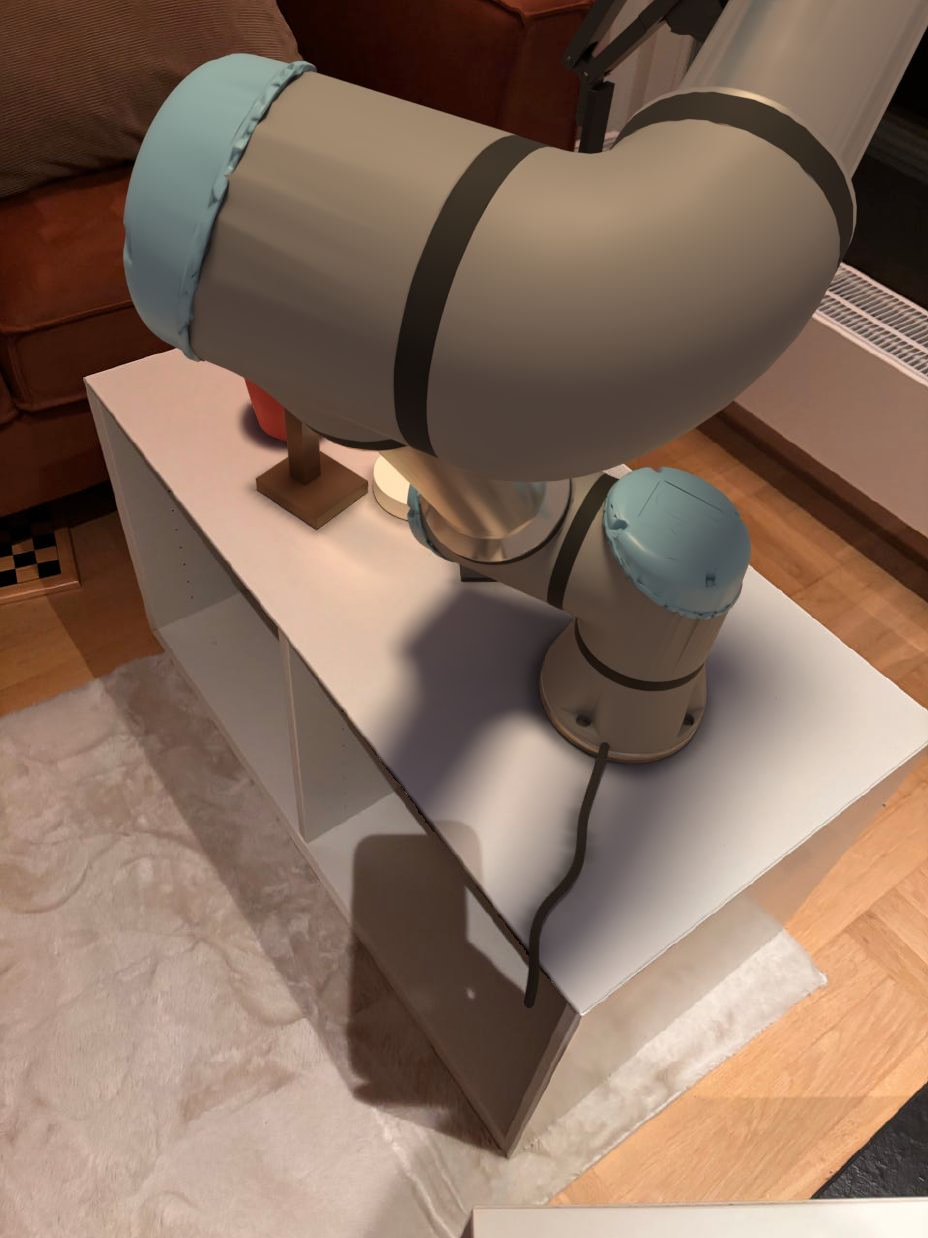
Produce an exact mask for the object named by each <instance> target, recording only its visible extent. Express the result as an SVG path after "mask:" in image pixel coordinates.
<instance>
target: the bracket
mask: <svg viewBox="0 0 928 1238" xmlns="http://www.w3.org/2000/svg"><path fill="white" fill-rule="evenodd" d="M409 485H410V483H409V482H408V481H407V480H406V479H405V478H404V477H403V476H402V475H401V474H400V473H399V472H398V471H397V470H396V469H395V468H394V467H393V466H392V465H391V464H390V463H389V462H388V461H387V460H386V459H385V458H384V457H383V456H382V455H380V456H379V457H378V458H377V459H376V461H375V463H374V465H373V485H372V486H373V488H372V489H373V493H374V497H375V499H376V502H377V503H378V504H379V505H380V506H381V507H382V508H383V509H384V510H385V511H386V512H387V513H389V514H391V515H393V516H395V517H397V518H399V519H402V520H405V521H408V519H407V513H408V511H409V509H410V507H409V506H408V505H407V497H408V490H409Z"/></svg>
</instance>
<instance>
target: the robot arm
mask: <svg viewBox="0 0 928 1238" xmlns="http://www.w3.org/2000/svg"><path fill="white" fill-rule="evenodd" d="M627 2H628V0H595V1H594V2H593V4H592V6H591V8H590V9H589V11H588V12H587V14H586V16H585V18H584V19H583V21H582V23H581V24H580V26H579V27H578V29H577V31H576V32H575V34H574V36H573V38H572V39H571V40H570V43H569V44H568V46H567V47H566V49H565V51H564V53H563V54H562V57H561V65H562V67H563V68H564V69H565V70H568V71H570V70H571V71H572V72H573V73H574V74H575V75H576V76H577V77H578V81H579V82H580V87H579V91H578V99H577V105H576V111H575V117H574V119H575V124H576V125H575V126H578V127H580V128H581V132H580V138H579V142H578V143H579V144H578V149H577V151H569V150H565V149H560V148H557V147H554V146H552V145H549V144H545V143H542V142H539V141H536V140H532V139H529V138H526V137H522V136H520V135H517V134H515V133H512V132H509V131H505V130H502V129H500V128H499V129H498V128H496V127H493V126H489V125H486V124H482V123H479V122H476V121H473V120H470V119H467V118H463V117H460V116H457V115H453V114H450V113H448V112H444V111H440V110H437V109H434V108H431V107H428V106H424V105H421V104H418V103H415V102H411V101H409V100H405V99H402V98H399V97H396V96H393V95H389V94H386V93H383V92H379V91H377V90H373V89H371V88H366V87H363V86H361V85H358V84H354V83H351V82H348V81H344V80H341V79H338V78H336V77H332V76H328V75H326V74H322V73H319V72H318V70H317V66H315V65H314V64H312V63H310V62H308V61H305V60H299V61H298V60H295V61H292V62H290V63H288V62H284V61H281V60H276V59H274V58H273V59H272V58H268V57H264V56H260V55H256V54H250V53H242V52H241V53H231V54H229V55H225V56H221V57H219V58H217V59H212V60H210V61H207V62H205V63H203V64H202V65H200V66H198V67H197V68H196V69H194V70H193V71H192V72H189V74H188V75H187V76H186V77H185V78H183V79H182V80H181V81H180V82H179V83H178V84H177V86H176V87H175V88H174V89H173V90H172V91H171V93H170V94H169V95H168V97H167V98H166V99H165V100H164V102H163V104H162V105H161V106H160V108H159V110H158V111H157V112H156V115H155V116H154V118H153V120H152V121H151V123H150V126H149V127H148V129H147V131H146V133H145V135H144V138H143V140H142V143H141V146H140V149H139V151H138V154H137V156H136V159H135V162H134V166H133V168H132V172H131V175H130V180H129V184H128V188H127V191H126V192H127V193H126V196H125V197H126V198H125V202H124V209H123V210H124V212H123V220H122V221H123V226H124V228H125V238H124V245H123V249H122V250H123V253H122V254H123V255H122V260H123V261H122V262H123V269H124V275H125V280H126V284H127V288H128V291H129V295H130V297H131V300H132V304H133V305H134V307H135V309H136V312H137V314H138V316H139V317H140V319H141V320H142V322H143V323H144V324H145V326H146V327H147V328H148V329H149V330H150V331H151V332H152V333H153V335H155V336H156V337H158V338H159V339H160V340H162V341H163V342H165V343H166V344H168V345H171V346H172V347H173V348H176V349H178V350H179V351H181V352H182V354H183V356H184V357H186V359H188V360H191V361H193V362H197V363H200V362H203V363H204V362H207V363H210V364H212V365H215V366H217V367H220V368H222V369H225V370H227V371H228V372H232V373H233V374H236V375H237V376H239V377H240V378H243V379H244V378H245V379H247V380H249V381H250V382H252V383H254V384H256V385H257V386H259V387H260V388H262V389H263V390H264V391H266V392H267V393H268V394H270V395H271V396H272V397H273V398H274V399H275V400H277V401H278V402H279V403H280V404H281V405H282V406H284V407H285V408H286V409H287V410H288V411H289V412H291V413H292V414H293V415H294V416H295V417H296V418H298V419H299V420H300V421H302V422H303V423H304V424H305V425H306V426H307V427H308V428H310V429H311V430H312V431H314V432H315V433H317V434H318V435H319V437H321V438H323V439H325V440H326V441H328V442H331V443H333V444H335V445H338V446H341V447H343V448H346V449H350V450H354V451H358V452H359V451H361V452H370V453H371V452H375V453H378V454H379V455H380V456H383V457H384V458H385V459H386V460H387V461H388V462H389V463H390V464H391V465H392V466H393V467H394V468H395V469H396V470H397V471H398V472H399V473H400V474H401V475H402V476H403V477H404V478H405V479H406V480H407V481H408V482H409V483H410V485H409V490H408V497H407V505H408V506H409V507H410V509H409V511H408V513H407V519H408V520H407V523H408V526H409V530H410V532H411V534H412V536H413V537H414V539H415V540H416V541H417V542H418V543H419V544H420V545H421V546H423V547H424V548H426V549H427V550H429V551H431V552H432V553H433V554H434V555H436V556H437V557H438V558H441V559H443V560H444V561H448V562H450V563H455V564H458V565H460V564H461V565H463V566H465V567H467V568H470V569H472V570H474V571H476V572H479V573H481V574H483V575H485V576H487V577H490V578H492V579H494V580H496V581H495V582H498V583H501V584H503V585H505V586H508V587H510V588H513V589H514V590H516V591H519V592H521V593H523V594H525V595H528V596H530V597H532V598H534V599H537V600H539V601H542V602H543V603H546V604H548V605H549V606H551V607H553V608H556V609H557V610H560V611H561V612H564V613H566V614H569V615H571V616H573V617H574V619H572V620H571V622H570V623H569V624H568V625H567V626H566V628H565V629H564V630H563V631H562V632H561V633H559V635H558V636H557V637H556V638H555V639H554V641H553V642H552V644H551V645H550V647H549V648H548V650H547V652H546V654H545V656H544V658H543V662H542V666H541V670H540V674H539V681H538V682H539V683H538V685H539V686H538V687H539V695H540V701H541V704H542V706H543V709H544V711H545V714H546V715H547V717H548V719H549V720H550V722H551V723H552V724H553V726H554V727H555V729H556V730H557V731H559V733H560V734H561V735H562V736H563V737H564V738H565V739H567V740H568V741H569V742H570V743H572V745H574V746H576V747H577V748H579V749H581V751H584V752H586V753H588V754H589V755H592V756H595V757H596V758H595V762H594V765H593V768H592V770H591V775H590V777H589V781H588V783H587V787H586V790H585V793H584V796H583V799H582V802H581V806H580V809H579V815H578V821H577V831H576V847H575V853H574V856H573V860H572V863H571V866H570V868H569V870H568V871H567V874H566V875H565V876H564V877H563V879H562V880H561V882H559V884H558V885H557V886H556V887H555V888H554V889H553V890H552V891H550V893H549V894H548V895H547V896H546V897H545V898H544V899H543V901H542V903H541V904H540V905H539V907H538V909H537V910H536V912H535V914H534V917H533V918H532V922H531V925H530V930H529V938H528V976H527V977H528V978H527V985H526V989H525V994H524V999H523V1005H524V1007H525V1008H527V1009H531V1008H533V1007H534V1006H535V1003H536V998H537V994H538V989H539V981H540V941H541V940H540V939H541V933H542V929H543V925H544V924H545V920H546V918H547V916H548V914H549V912H551V910H552V909H553V908H554V906H555V905H556V904H557V903H558V902H559V901H560V899H561V898H562V897H563V896H564V895H565V894H566V893H567V892H568V891H569V890H570V889H571V888H572V886H573V885H574V883H576V880H577V879H578V877H579V875H580V873H581V870H582V868H583V864H584V861H585V858H586V857H585V856H586V852H587V851H586V850H587V837H588V825H589V817H590V813H591V810H592V805H593V802H594V799H595V795H596V793H597V790H598V786H599V784H600V781H601V777H602V774H603V771H604V770H603V769H604V767H605V764H606V761H611V762H615V763H621V764H644V763H652V762H656V761H660V760H662V759H665V758H668V757H669V756H672V755H674V754H675V753H677V752H679V751H680V750H681V749H683V747H685V746H686V744H688V743H689V741H690V740H691V739H692V738H693V737H694V734H695V733H696V731H697V730H698V727H699V726H700V724H701V722H702V719H703V716H704V714H705V709H706V703H707V694H708V693H707V676H706V675H707V673H706V662H707V659H708V658H709V655H710V653H711V651H712V649H713V647H714V644H715V642H716V639H717V638H718V635H719V633H720V631H721V628H722V626H723V624H724V622H725V620H726V618H727V615H728V613H729V611H730V610H732V608H733V607H734V605H735V604H736V603H737V601H738V599H739V598H740V596H741V593H742V589H743V587H744V586H743V581H744V578H745V577H746V576H745V575H746V574H747V570H748V569H749V565H750V562H751V557H752V541H751V535H750V532H749V529H748V526H747V524H746V523H745V522H744V521H743V519H741V513H740V511H739V509H738V508H737V507H736V505H735V504H734V503H733V501H732V500H731V499H730V498H729V497H728V496H727V495H726V494H724V492H722V490H720V489H718V488H717V487H716V486H715V485H713V484H712V483H710V481H709V482H708V481H707V480H705V479H704V478H701V477H700V476H697V475H696V474H693V473H691V472H688V471H685V470H682V469H679V468H674V467H667V466H660V467H659V468H658V469H657V470H655V469H653V468H652V467H651V466H648V467H646V466H645V467H641V468H638V469H634V470H632V471H629V472H627V473H626V474H624V475H623V476H622V477H620V478H618V477H615V476H613V475H611V474H608V473H606V472H605V471H608V470H610V469H613V468H616V467H619V466H622V465H624V464H627V463H629V462H632V461H634V460H637V459H639V458H641V457H643V456H645V455H647V454H650V453H651V452H654V451H656V450H658V449H660V448H662V447H664V446H666V445H667V444H669V443H671V442H673V441H674V440H677V439H678V438H680V437H682V436H684V435H685V434H687V433H689V432H691V431H693V430H694V429H695V428H697V427H699V426H701V424H703V423H704V422H706V421H707V420H709V419H711V418H712V417H713V416H715V415H716V414H718V413H719V412H721V411H722V410H723V409H725V408H727V407H728V406H729V405H730V404H731V403H732V402H733V401H735V400H736V399H737V398H738V397H739V396H740V395H741V394H743V393H744V392H745V391H746V390H747V389H748V388H749V387H751V385H753V384H754V383H755V382H756V381H757V380H759V378H760V377H762V376H763V375H764V374H765V373H766V372H768V370H770V368H772V366H773V365H774V364H775V363H776V362H777V361H778V359H779V358H780V357H781V356H782V355H783V354H784V353H785V352H786V351H787V349H789V347H790V346H791V345H792V344H793V343H794V341H795V340H796V339H797V338H798V337H799V336H800V335H801V332H802V331H803V330H804V329H805V327H806V325H808V323H809V321H810V320H811V318H812V317H813V316H814V315H815V313H816V311H817V310H818V309H819V307H820V305H821V303H822V301H823V299H824V298H825V295H826V293H827V292H828V289H829V288H830V285H832V282H833V280H834V278H835V276H836V274H837V272H838V270H839V268H840V266H841V264H842V262H843V259H844V257H845V256H846V253H847V251H848V250H849V247H850V244H851V242H852V240H853V236H854V234H855V233H854V232H855V228H856V225H857V208H858V207H857V206H858V205H857V199H856V191H855V189H854V185H853V182H852V178H853V176H854V174H855V172H856V170H857V169H858V166H859V164H860V162H861V160H862V159H863V156H864V154H865V152H866V150H867V148H868V146H869V144H870V142H871V140H872V138H873V136H874V134H875V132H876V130H877V129H878V126H879V125H880V122H881V120H882V118H883V116H884V114H885V112H886V111H887V108H888V106H889V104H890V102H891V101H892V98H893V96H894V94H895V93H896V91H897V88H898V86H899V84H900V82H901V81H902V79H903V76H904V75H905V72H906V70H907V68H908V66H909V64H910V62H911V60H912V58H913V56H914V54H915V52H916V50H917V48H918V46H919V44H920V42H921V40H922V38H923V36H924V34H925V32H926V30H927V29H928V0H652V1H651V2H650V3H649V4H648V5H647V6H646V7H644V9H643V10H642V11H641V12H640V13H639V14H638V15H637V17H636V18H635V19H634V20H633V21H632V22H631V23H630V24H629V25H628V26H627V27H626V28H625V29H623V30H622V31H621V32H620V33H619V34H618V35H617V36H616V37H615V38H614V39H613V40H612V41H611V42H610V43H609V44H607V45H606V46H605V47H604V48H603V49H602V50H601V51H600V52H599V53H598V54H597V55H595V56H594V54H595V52H596V50H597V49H598V47H599V45H600V44H601V42H602V41H603V39H604V38H605V36H606V35H607V34H608V32H609V30H610V28H611V27H612V25H613V23H614V22H615V20H616V19H617V17H618V16H619V15H620V13H621V11H622V10H623V9H624V6H625V4H626V3H627ZM665 24H667V26H668V27H669V28H670V31H669V32H670V33H673V34H676V35H678V36H690V37H691V38H693V39H694V40H696V41H697V42H698V43H701V44H702V46H701V48H700V49H699V51H698V53H697V55H696V56H695V58H694V59H693V61H692V63H691V65H690V67H689V68H688V71H687V72H686V73H685V75H684V77H683V79H681V82H680V84H679V86H678V87H677V89H674V90H672V91H669V92H667V93H663V94H662V95H659V96H657V97H656V98H654V99H652V100H650V101H649V102H646V103H645V104H644V105H643V106H642V107H641V108H639V109H638V110H637V111H635V112H634V113H633V114H632V116H631V117H630V118H629V119H628V120H627V121H626V123H625V124H624V126H623V127H622V128H621V130H620V131H619V133H618V135H616V138H615V140H614V141H613V143H612V145H611V146H610V148H609V150H606V151H603V150H604V145H605V139H606V133H607V129H608V123H609V118H610V112H611V108H612V102H613V98H614V91H615V87H616V82H613V81H610V80H605V78H607V77H609V76H611V75H612V74H611V73H612V72H613V71H614V70H615V69H616V68H617V67H618V66H620V65H621V64H622V63H623V62H624V61H625V60H626V59H628V57H630V56H631V55H632V54H633V53H634V52H635V51H636V50H637V49H638V48H640V47H641V46H642V45H643V44H644V43H645V42H646V41H647V40H648V39H649V38H651V37H652V36H653V35H654V34H655V33H656V32H657V31H658V30H660V29H661V28H662V27H663V26H664V25H665Z"/></svg>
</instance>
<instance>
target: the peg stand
mask: <svg viewBox="0 0 928 1238" xmlns="http://www.w3.org/2000/svg"><path fill="white" fill-rule="evenodd" d="M284 413H285V425H286V437H287V441H286V447H287V457H285V458H284V459H282V460H281V461H279V462H278V463H277V464H275V465H274V466H272V467H270V468H268V469H267V470H266V471H264V472H262V473H261V474H260V475H258V476H257V477H256V478H255V487H256V490H257V491H259V492H260V493H262V494H263V495H265V496H266V497H268V498H269V499H270V500H272V501H273V502H275V503H277V504H278V505H280V506H281V507H283V508H284V509H285V510H287V511H289V512H290V513H292V514H293V515H295V516H296V517H297V518H299V519H300V520H301V521H304V522H305V523H307V524H308V525H310V526H311V527H313V528H314V529H315V530H319V529H320V528H321V527H323V526H324V525H325V524H326V523H328V522H329V521H330V520H332V519H333V518H335V517H336V516H337V515H339V514H340V513H342V512H343V511H344V510H345V509H347V508H348V507H350V506H351V505H352V504H353V503H355V502H356V501H357V500H359V499H361V498H362V497H363V496H365V494H367V493H368V492H369V480H368V479H366V478H364V477H363V476H361V475H359V474H358V473H357V472H355V471H353V470H352V469H350V468H348V467H347V466H345V465H343V464H342V463H340V462H339V461H337V460H336V459H334V458H333V457H331V456H330V455H327V453H324V452H323V451H321V446H320V436H319V435H318V434H317V433H315V432H314V431H312V430H311V429H310V428H308V427H307V426H306V425H305V424H304V423H303V422H302V421H300V420H299V419H298V418H296V417H295V416H294V415H293V414H292V413H291V412H289V411H288V410H287V409H286V408H285V407H284Z"/></svg>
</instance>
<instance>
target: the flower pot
mask: <svg viewBox="0 0 928 1238" xmlns="http://www.w3.org/2000/svg"><path fill="white" fill-rule="evenodd" d="M243 380H244V383H245V386H246V389H247V393H248V396H249V399H250V402H251V405H252V407H253V410H254V414H255V416H256V419H257V421H258V424H259V427H260V428H261V430H262V431H263V432H264V433H265V434H267V435H268V436H270V437H272V438H274V439H277V440H280V441H285V442H287V437H286V425H285V413H284V406H282V405H281V404H280V403H279V402H278V401H277V400H275V399H274V398H273V397H272V396H271V395H270V394H268V393H267V392H266V391H264V390H263V389H262V388H260V387H259V386H257V385H256V384H254V383H252V382H250V381H249V380H247V379H245V378H243Z"/></svg>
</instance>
